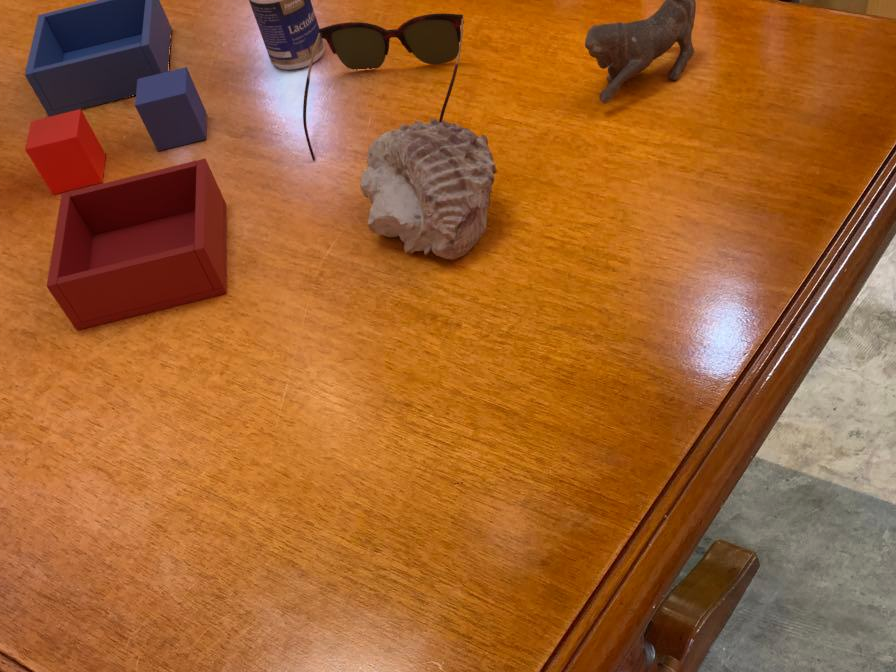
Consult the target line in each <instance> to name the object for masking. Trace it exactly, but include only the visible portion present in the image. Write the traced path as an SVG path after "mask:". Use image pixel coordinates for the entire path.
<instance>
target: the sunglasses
mask: <svg viewBox="0 0 896 672" xmlns="http://www.w3.org/2000/svg"><path fill="white" fill-rule="evenodd" d="M464 25H465V21H464V15H463V14H460V13H459V14H457V13H445V12H444V13H429V14H428V13H427V14H424V15H420V16H416V17H413V18H410V19H408V20H406V21H405V22H403V23H402V24H401V25H400V26H399V27H398V28H394V29H385V28H384V27H382V26H379V25H377V24H373V23H369V22H361V21H357V22H356V21H355V22H354V21H353V22H351V21H350V22H349V21H348V22H340V23H335V24H331V25H327V26H324V27H320V28H319V34H318V37H317V39H316V42H315V47H314V50H313V54H312V57H311V61H310V65H308V70H307V76H306V82H305V87H304V93H303V102H302V103H303V104H302V105H303V106H302V110H303V111H302V122H303V129H304V135H305V138H306V142H307V146H308V150H309V152H310V153H309V154H310V156H311V160H312V161H315V160H316V156H315V153H314V150H313V147H312V143H311V140H310V136H309V131H308V126H307V125H308V124H307V107H308V106H307V104H308V96H309V95H308V94H309V87H310V83H311V81H310V80H311V79H310V78H311V72H312V69H313V68H312V67H313V64H314V63H313V60H314V56H315V53H316V50H317V48H318V46H319V42H320V39H321V38H323V40H325V41H326V42H327V45H328V46H329V49H330V51H331V52H332V54H333V55H336V56H337V57H338V59H339V61H340V62H341V63H342V64H343V65H344V66H345V67H346V68H348V69H350V70H353V71H358V70H357V69H367V68H369V69H372V68H377V69H378V68H380V67H381V66H382V65H383V64H384V62H385V59H386V57H387V56H388V55H389V50H390V39H391V38H392V39H393V38H397V39H398V40H399V41H400V44H401V45H402V46H403V48H405V50H406V51H407V52H408V53H409V54H412V55H414V57H415V58H416V59H418V60H419V61H421V62H422V63H424V64H428V65H443V64H446V63H450V62H452V61H454V60H455V59H456V62H455V64H454V68H453V72H452V76H451V80H450V83H449V86H448V89H447V92H446V96H445V98H444V102H443V105H442V108H441V111H440V115H439V119H438V121H439V122H442V121H443V119H444V116H445V112H446V108H447V105H448V102H449V100H450V96H451V94H452V90H453V86H454V84H455V80H456V76H457V72H458V68H459V64H460V58H461V51H462V44H463V35H464ZM354 69H356V70H354Z"/></svg>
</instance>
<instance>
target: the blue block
mask: <svg viewBox="0 0 896 672" xmlns="http://www.w3.org/2000/svg"><path fill="white" fill-rule="evenodd" d="M134 107H135V109H136V111H137V113H138V114H139V116H140V118H141V121H142V123H143V125H144V127H145V129H146V131H147V132H148V135H149V137H150V139H151V141H152V142H153V145H154V147H155V149H156V150H157V152H162V151H166V150H170V149H174V148H178V147H182V146H185V145H191V144H194V143H198V142H202V141H206V140H207V135H206V133H207V131H208V129H207V128H208V122H206V121H208V119H207V120H206V112H207V110H206V108H205V105H204V104H203V101H202V99H201V97H200V94H199V92H198V90H197V87H196V85H195V82H194V80H193V79H192V76H191V74H190V72H189V69H188V68H187V66H184V67H181V68H176V69H173V70H169V71H168V72H164V73H160V74H156V75H152V76H148V77H144V78H140V79H137V89H136V96H135V102H134ZM205 139H206V140H205ZM201 140H202V141H201ZM197 141H198V142H197ZM193 142H194V143H193Z"/></svg>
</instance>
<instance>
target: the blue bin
mask: <svg viewBox="0 0 896 672" xmlns="http://www.w3.org/2000/svg"><path fill="white" fill-rule="evenodd" d="M36 19H37V20H36V23H35V28H34V33H33V37H32V40H31V41H32V42H31V45H30V48H29V49H30V50H29V54H28V58H27V63H26V68H25V72H24V77H25V78H26V80H27V82H28V83H29V85H30V87H31V88H32V90H33V92H34V94H35V95H36V97H37V99H38V101H39V102H40V104H41V106H42V108H43V109H44V111H45V113H46V114H47V117H50V116H54V115H58V114H63V113H67V112H71V111H75V110H79V109H81V110H83V109H87V108H91V107H96V106H100V105H104V104H109V103H112V102H116V101H119V99H120V100H123V99H122V98H124V99H126V98H125V97H128V98H130V97H129V96H132V95H136V89H137V79H140V78H144V77H148V76H152V75H156V74H160V73H164V72H168V64H169V63H168V62H169V49H170V48H169V47H170V35H171V28H172V25H171V24H170V21H169V19H168V16H167V14H166V11H165V10H164V8H163V5H162V3H161V1H160V0H93V1H90V2H85V3H82V4H78V5H77V4H76V5H74V6H69V7H66V8H61V9H57V10H53V11H48V12H45V13H42V14H38V16H37V18H36ZM132 97H133V96H132ZM115 100H116V101H115Z"/></svg>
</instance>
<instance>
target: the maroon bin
mask: <svg viewBox="0 0 896 672" xmlns="http://www.w3.org/2000/svg"><path fill="white" fill-rule="evenodd" d="M59 202H60V203H59V208H58V214H57V220H56V225H55V226H56V227H55V231H54V238H53V245H52V252H51V256H50V263H49V269H48V276H47V282H46V288H47V289H48V291H49V292H50V294H51V295H52V297H53V299H54V300H55V301H56V303H57V304H58V305H59V307H60V308H61V310H62V311H63V313H64V314H65V316H66V317H67V319H68V320H69V322H70V323H71V325H72V326H73V327H74V329H75V330H76V331H79V330H83V329H87V328H91V327H96V326H101V325H104V324H106V323H111V322H117V321H120V320H124V319H128V318H133V317H136V316H139V315H140V316H141V315H145V314H148V313H152V312H157V311H161V310H164V309H169V308H172V307H176V306H181V305H185V304H188V303H193V302H197V301H201V300H205V299H210V298H213V297H217V296H221V295H225V294H227V293H228V292H227V291H228V290H227V285H228V284H227V202H226V200H225V198H224V196H223V194H222V191H221V189H220V187H219V185H218V182H217V180H216V178H215V176H214V173H213V172H212V170H211V167H210V165H209V162H208V161H207V159H206V158H201V159H198V160H193V161H192V160H191V161H188V162H185V163H180V164H176V165H172V166H169V167H164V168H159V169H155V170H152V171H147V172H144V173H140V174H136V175H131V176H128V177H124V178H119V179H116V180H112V181H107V182H104V183H103V182H102V183H99V184H95V185H91V186H87V187H82V188H78V189H74V190H70V191H66V192H62V193H61V195H60V201H59Z"/></svg>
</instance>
